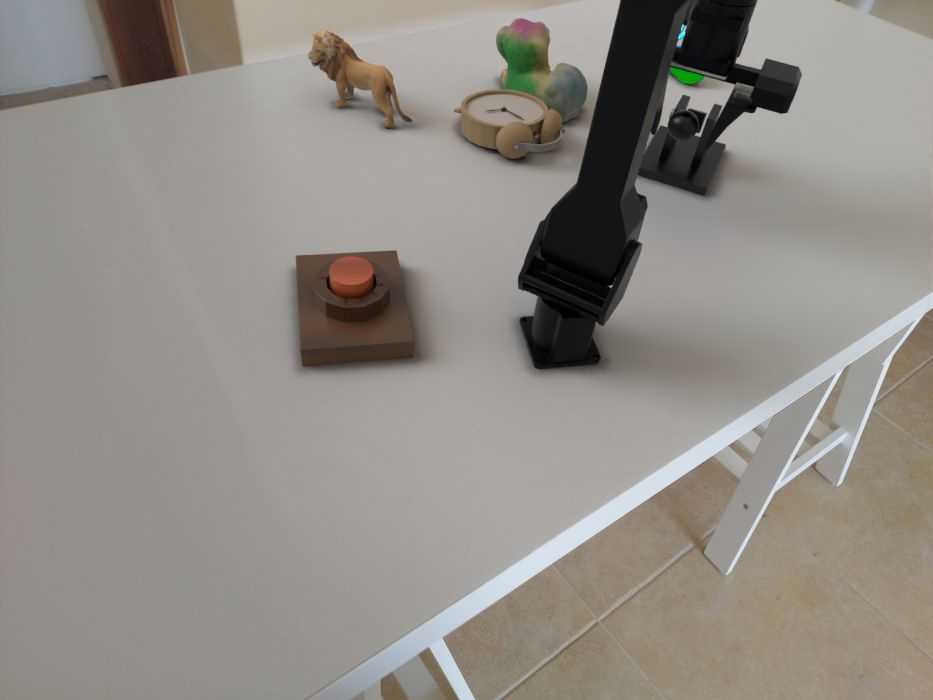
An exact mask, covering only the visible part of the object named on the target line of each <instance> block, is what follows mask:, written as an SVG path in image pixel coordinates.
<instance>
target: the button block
mask: <svg viewBox="0 0 933 700" xmlns="http://www.w3.org/2000/svg"><path fill="white" fill-rule="evenodd" d="M349 256H353V257H360V258H363V259H365V260H367V261H368V262H369V263H370V264H371V265H372V267H373V280H374V285H373V289H372V291H371V292H370V293H369V294H367V295H365V296H363V297H361V298H350V299H346V298H343V297H340V296H337V295H336V294H334V293H333V292H332V290H331V288H330V280H329V268H330V266H331V264H332V263H333V262H334V261H336V260H338V259H340V258H343V257H349ZM295 273H296V291H297V292H296V293H297V309H298V310H297V313H298V330H299V331H298V332H299V333H298V334H299V350H300V351H299V352H300V359H301V366H302V367H312V366H313V367H314V366H324V365H336V364H350V363H362V362H363V363H364V362H374V361H388V360H400V359H412V358H414V357H415V336H414V330H413V327H412V326H413V325H412V322H411V316H410V312H409V306H408V301H407V296H406V291H405V287H404V286H405V285H404V281H403V276H402V271H401V266H400V261H399V255H398V251H397V250H395V249H394V250H379V251H378V250H377V251H376V250H375V251H373V250H372V251H356V252H338V253H336V252H335V253H318V254H298V255H297V254H296V255H295Z"/></svg>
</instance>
